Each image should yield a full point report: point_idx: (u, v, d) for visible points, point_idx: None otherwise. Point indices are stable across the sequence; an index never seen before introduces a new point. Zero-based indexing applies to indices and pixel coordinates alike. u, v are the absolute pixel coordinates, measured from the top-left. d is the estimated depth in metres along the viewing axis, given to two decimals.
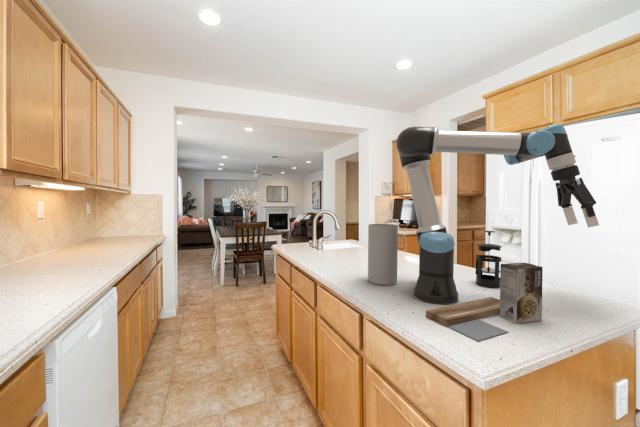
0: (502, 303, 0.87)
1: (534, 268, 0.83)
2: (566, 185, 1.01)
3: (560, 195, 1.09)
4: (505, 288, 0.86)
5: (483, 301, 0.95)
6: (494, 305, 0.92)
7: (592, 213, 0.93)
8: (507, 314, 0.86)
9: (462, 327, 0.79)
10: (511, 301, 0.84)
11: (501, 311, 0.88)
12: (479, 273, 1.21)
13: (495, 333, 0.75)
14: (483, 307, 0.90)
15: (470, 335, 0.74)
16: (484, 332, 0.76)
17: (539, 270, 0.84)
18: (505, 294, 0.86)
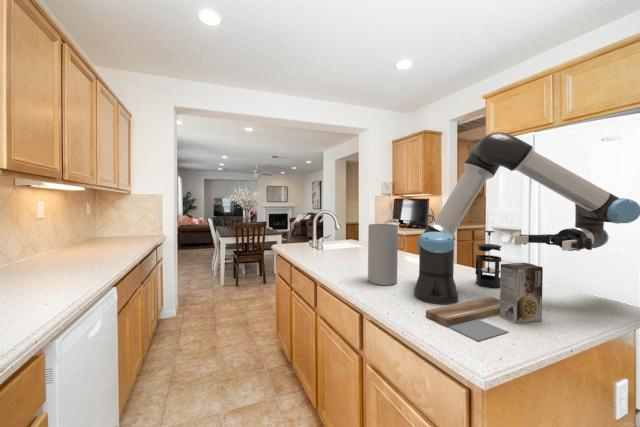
0: (502, 303, 0.87)
1: (534, 268, 0.83)
2: None
3: (534, 236, 1.02)
4: (505, 288, 0.86)
5: (483, 301, 0.95)
6: (494, 305, 0.92)
7: (577, 246, 0.85)
8: (507, 314, 0.86)
9: (462, 327, 0.79)
10: (511, 301, 0.84)
11: (501, 311, 0.88)
12: (479, 273, 1.21)
13: (495, 333, 0.75)
14: (483, 307, 0.90)
15: (470, 335, 0.74)
16: (484, 332, 0.76)
17: (539, 270, 0.84)
18: (505, 294, 0.86)
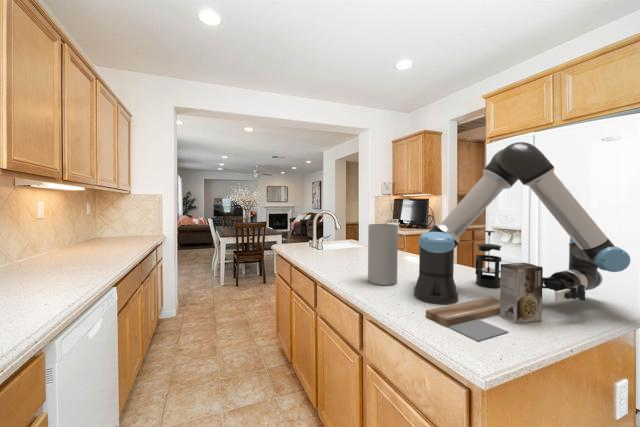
0: (502, 303, 0.87)
1: (534, 268, 0.83)
2: None
3: None
4: (505, 288, 0.86)
5: (483, 301, 0.95)
6: (494, 305, 0.92)
7: (571, 296, 0.83)
8: (507, 314, 0.86)
9: (462, 327, 0.79)
10: (511, 301, 0.84)
11: (501, 311, 0.88)
12: (479, 273, 1.21)
13: (495, 333, 0.75)
14: (483, 307, 0.90)
15: (470, 335, 0.74)
16: (484, 332, 0.76)
17: (539, 270, 0.84)
18: (505, 294, 0.86)
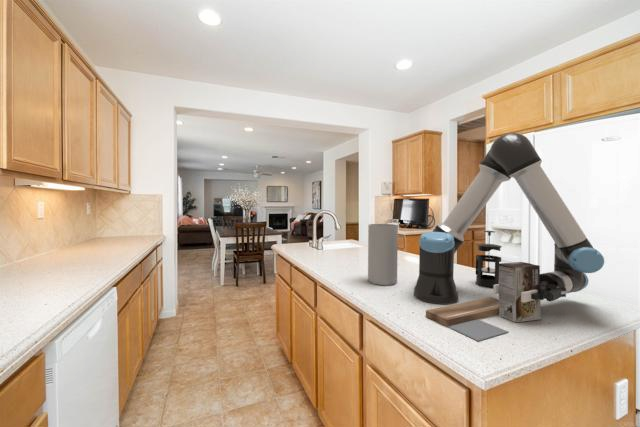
0: (501, 303, 0.88)
1: (531, 267, 0.84)
2: (547, 283, 0.90)
3: None
4: (503, 288, 0.87)
5: (483, 301, 0.95)
6: (494, 305, 0.92)
7: (537, 297, 0.82)
8: (506, 313, 0.86)
9: (462, 327, 0.79)
10: (510, 300, 0.85)
11: (500, 311, 0.88)
12: (479, 273, 1.21)
13: (495, 333, 0.75)
14: (483, 307, 0.90)
15: (470, 335, 0.74)
16: (484, 332, 0.76)
17: (536, 269, 0.84)
18: (504, 293, 0.87)
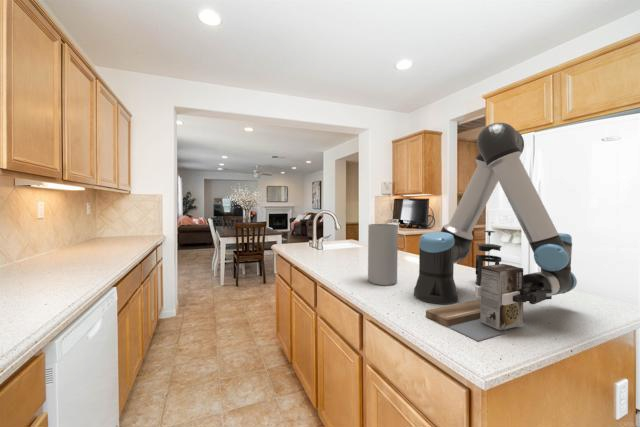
0: (483, 309, 0.81)
1: (515, 270, 0.78)
2: (532, 284, 0.84)
3: None
4: (486, 293, 0.80)
5: None
6: None
7: (519, 299, 0.75)
8: (489, 320, 0.79)
9: (462, 327, 0.79)
10: (493, 307, 0.78)
11: (482, 317, 0.81)
12: (479, 273, 1.21)
13: (495, 333, 0.75)
14: None
15: (470, 335, 0.74)
16: (484, 332, 0.76)
17: (520, 272, 0.78)
18: (487, 298, 0.80)
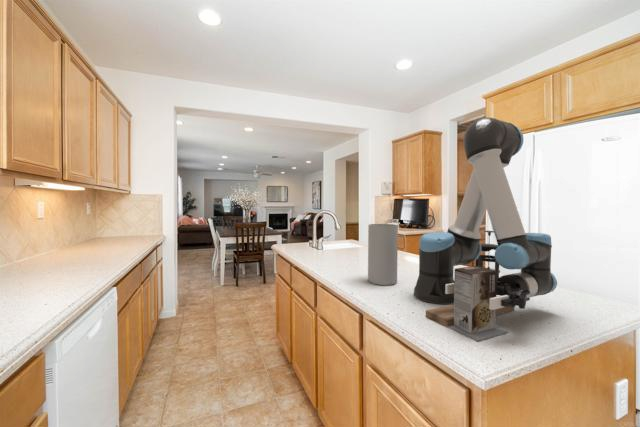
0: (456, 311, 0.80)
1: (488, 272, 0.77)
2: None
3: None
4: (459, 295, 0.79)
5: None
6: None
7: (508, 304, 0.72)
8: (462, 323, 0.78)
9: None
10: (466, 310, 0.77)
11: (455, 320, 0.80)
12: None
13: (495, 333, 0.75)
14: None
15: (470, 335, 0.74)
16: (484, 332, 0.76)
17: (493, 274, 0.77)
18: (460, 301, 0.79)
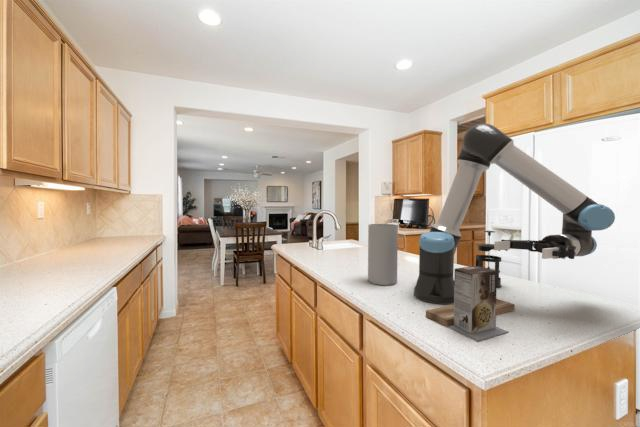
0: (456, 311, 0.80)
1: (488, 272, 0.77)
2: None
3: None
4: (459, 295, 0.79)
5: None
6: None
7: (559, 254, 0.79)
8: (462, 323, 0.78)
9: None
10: (466, 310, 0.77)
11: (455, 320, 0.80)
12: None
13: (495, 333, 0.75)
14: None
15: (470, 335, 0.74)
16: (484, 332, 0.76)
17: (493, 274, 0.77)
18: (460, 301, 0.79)
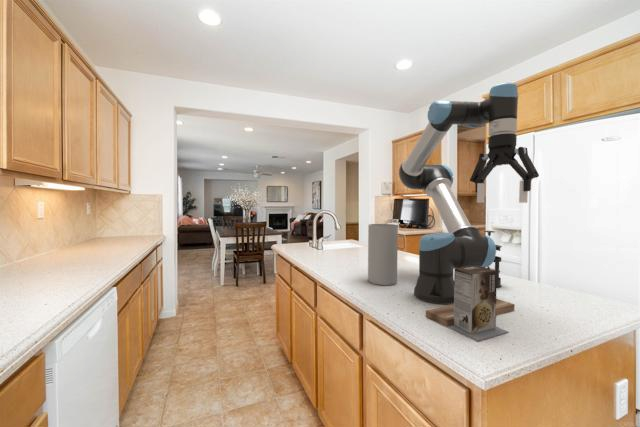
0: (456, 311, 0.80)
1: (488, 272, 0.77)
2: None
3: None
4: (459, 295, 0.79)
5: None
6: None
7: None
8: (462, 323, 0.78)
9: None
10: (466, 310, 0.77)
11: (455, 320, 0.80)
12: None
13: (495, 333, 0.75)
14: None
15: (470, 335, 0.74)
16: (484, 332, 0.76)
17: (493, 274, 0.77)
18: (460, 301, 0.79)
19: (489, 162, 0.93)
